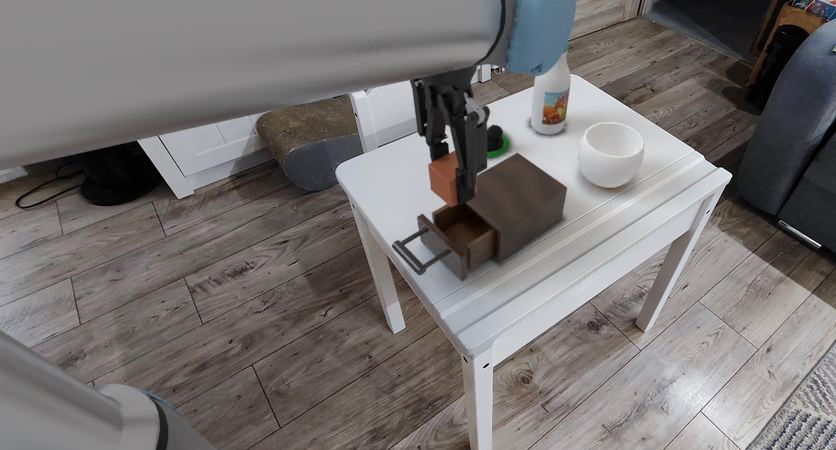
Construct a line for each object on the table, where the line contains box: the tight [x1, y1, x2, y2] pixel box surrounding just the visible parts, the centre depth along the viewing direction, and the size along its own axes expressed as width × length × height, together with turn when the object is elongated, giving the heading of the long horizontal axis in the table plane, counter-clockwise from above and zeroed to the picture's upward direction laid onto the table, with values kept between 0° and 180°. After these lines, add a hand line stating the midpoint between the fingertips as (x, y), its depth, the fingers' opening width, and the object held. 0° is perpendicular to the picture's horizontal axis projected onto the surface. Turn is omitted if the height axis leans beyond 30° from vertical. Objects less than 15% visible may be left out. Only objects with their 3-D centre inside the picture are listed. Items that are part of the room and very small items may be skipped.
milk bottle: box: [530, 41, 572, 135], centre depth 97 cm, size 8×8×20 cm
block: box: [427, 149, 478, 207], centre depth 67 cm, size 5×5×5 cm
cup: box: [577, 121, 645, 189], centre depth 89 cm, size 12×12×10 cm
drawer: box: [391, 203, 497, 282], centre depth 76 cm, size 21×11×6 cm, turn 132°
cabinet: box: [464, 152, 568, 264], centre depth 81 cm, size 16×13×8 cm
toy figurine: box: [487, 124, 510, 159], centre depth 97 cm, size 10×10×6 cm
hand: (454, 189), depth 68 cm, fingers closed on block, 5 cm apart
